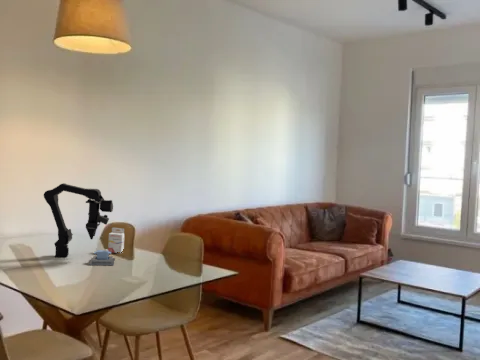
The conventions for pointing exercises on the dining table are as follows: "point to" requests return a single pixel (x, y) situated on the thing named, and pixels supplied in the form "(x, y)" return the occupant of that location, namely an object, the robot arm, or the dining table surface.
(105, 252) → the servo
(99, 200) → the robot arm
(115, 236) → the ink cartridge box
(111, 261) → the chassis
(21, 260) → the dining table surface
